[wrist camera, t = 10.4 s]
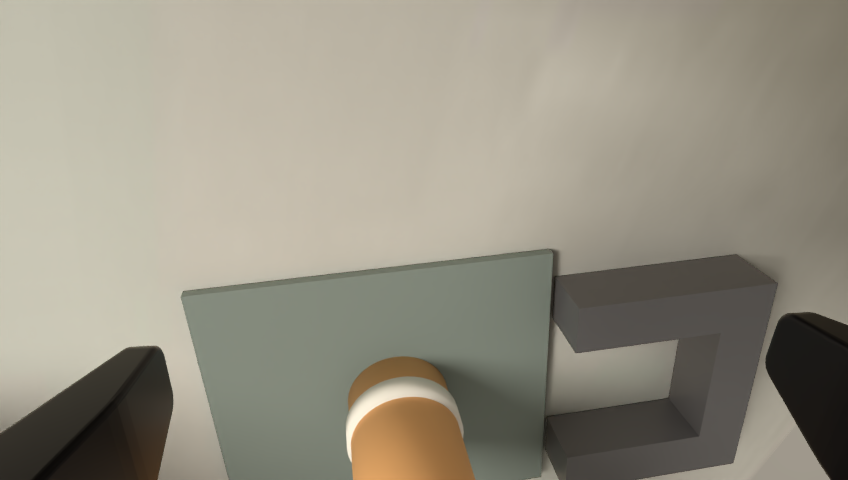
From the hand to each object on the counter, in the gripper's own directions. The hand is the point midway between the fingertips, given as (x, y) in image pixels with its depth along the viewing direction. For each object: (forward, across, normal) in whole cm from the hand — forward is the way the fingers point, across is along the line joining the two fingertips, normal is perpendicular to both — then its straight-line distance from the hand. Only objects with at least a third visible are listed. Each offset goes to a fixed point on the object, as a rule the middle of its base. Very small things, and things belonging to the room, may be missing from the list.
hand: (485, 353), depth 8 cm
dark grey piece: (+13, -10, +11) cm, 20 cm away
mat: (+13, +1, +12) cm, 17 cm away
